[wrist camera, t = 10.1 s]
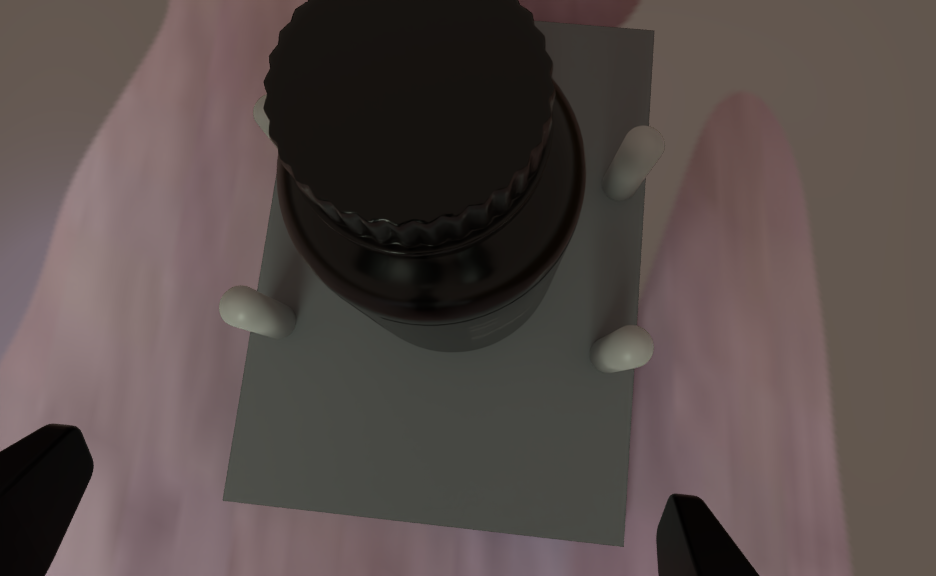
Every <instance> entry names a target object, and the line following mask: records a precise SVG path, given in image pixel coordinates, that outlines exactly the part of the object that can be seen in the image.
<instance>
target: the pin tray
mask: <svg viewBox="0 0 936 576" xmlns="http://www.w3.org/2000/svg"><path fill="white" fill-rule="evenodd" d="M305 3H306V2H305ZM534 25H535V27H537V28H538V29H539V30H540V31H541V32H542V34H543V35H544V36H545V39H546V52H547V53H548V55H549V56H550V58H551V60H552V61H553V74H552V78H553V79H554V81H555V82H556V83H557V84H558V86H559V87H560V88H561V90H562V91H563V93H564V95H565V96H566V98H567V99H568V101H569V103H570V105H571V107H572V109H573V111H574V113H575V116H576V118H577V121H578V124H579V127H580V130H581V134H582V138H583V142H584V147H585V154H586V170H587V174H586V188H585V194H584V200H583V205H582V209H581V213H580V216H579V220H578V223H577V225H576V228H575V231H574V233H573V236H572V238H571V240H570V243H569V245H568V247H567V249H566V251H565V254H564V256H563V258H562V260H561V262H560V265H559V267H558V269H557V271H556V273H555V276H554V278H553V280H552V282H551V284H550V287H549V289H548V291H547V293H546V294H545V296H544V298H543V300H542V302H541V303H540V305H539V306H538V308H537V309H536V311H535V312H534V313H533V314H532V316H531V317H530V318H529V319H528V320H527V321H526V322H525V323H524V324H523V325H522V326H521V327H520V328H518V329H517V330H516V331H515V332H513V333H512V334H511V335H509V336H508V337H506V338H504V339H502V340H500V341H499V342H497V343H494V344H492V345H490V346H487V347H484V348H481V349H477V350H472V351H466V352H438V351H433V350H428V349H424V348H421V347H418V346H415V345H413V344H410V343H408V342H406V341H404V340H402V339H401V338H399V337H397V336H396V335H394V334H393V333H391V332H390V331H388V330H387V329H385V328H383V327H382V326H380V325H379V324H378V323H376V322H375V321H373V320H372V319H370V318H369V317H367V316H366V315H365V314H363V313H362V312H360V311H359V310H357V309H356V308H355V307H353V306H352V305H350V304H349V303H347V302H346V301H344V300H343V299H342V298H340V297H339V296H338V295H337V294H335V293H334V292H333V291H332V290H331V289H329V288H328V287H327V286H326V285H325V284H324V283H323V282H322V281H321V280H320V279H319V278H318V277H317V276H316V275H315V274H314V273H313V272H312V270H311V269H310V268H309V267H308V265H307V264H306V263H305V262H304V260H303V259H302V257H301V256H300V254H299V253H298V251H297V250H296V248H295V246H294V244H293V242H292V240H291V238H290V236H289V234H288V231H287V229H286V226H285V223H284V221H283V217H282V213H281V209H280V205H279V199H278V193H277V177H276V180H275V186H274V192H273V199H272V205H271V211H270V217H269V223H268V229H267V235H266V241H265V247H264V253H263V259H262V265H261V271H260V277H259V283H258V289H257V291H256V290H254V289H252V288H250V287H247V286H235V287H232V288H231V289H229V290H228V291H226V292H225V293H224V295H223V296H222V298H221V300H220V304H219V312H220V315H221V317H222V319H223V320H224V321H225V322H226V323H227V324H229V325H231V326H234V327H237V328H241V329H244V330H247V331H251V332H250V338H249V344H248V350H247V356H246V362H245V368H244V374H243V380H242V386H241V392H240V398H239V404H238V410H237V417H236V423H235V429H234V435H233V441H232V447H231V453H230V459H229V465H228V471H227V477H226V483H225V489H224V495H223V501H230V502H239V503H248V504H256V505H265V506H274V507H282V508H291V509H300V510H308V511H317V512H326V513H334V514H343V515H352V516H360V517H369V518H378V519H386V520H395V521H404V522H412V523H421V524H430V525H438V526H447V527H456V528H464V529H473V530H482V531H490V532H499V533H508V534H516V535H525V536H534V537H542V538H551V539H560V540H568V541H577V542H586V543H594V544H603V545H612V546H620V547H624V532H625V515H626V498H627V481H628V464H629V448H630V431H631V414H632V397H633V381H634V368H637V367H641V366H643V365H645V364H646V363H647V362H648V361H649V360H650V358H651V357H652V354H653V350H654V345H653V340H652V338H651V336H650V335H649V333H648V332H647V331H646V330H644V329H643V328H641V327H639V326H637V314H638V297H639V280H640V263H641V246H642V230H643V213H644V196H645V179H646V176H647V175H648V173H649V172H650V171H651V169H652V168H653V167H654V165H655V164H656V163H657V161H658V160H659V158H660V157H661V155H662V154H663V152H664V147H665V143H664V139H663V137H662V135H661V134H660V132H658V131H657V130H656V129H654V128H652V127H649V112H650V96H651V79H652V62H653V45H654V31H651V30H640V29H628V28H616V27H604V26H592V25H579V24H567V23H555V22H543V21H534ZM266 96H267V94H266V95H264V96H262V97H261V98H260V99H259V100H258V101H257V102H256V104H255V106H254V109H253V116H254V119H255V121H256V123H257V124H258V125H259V126H260V128H261V129H262V130H263V131H264V133H265V134H266V135H267V136H268V138H269V139H270V137H269V119H268V118H267V116H266V114H265V112H264V109H263V107H264V103H265V99H266ZM270 140H271V139H270ZM271 141H272V140H271ZM273 144H274V143H273ZM274 145H275V144H274ZM275 146H276V145H275ZM277 149H278V148H277ZM276 176H277V174H276Z"/></svg>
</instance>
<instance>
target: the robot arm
mask: <svg viewBox="0 0 936 576" xmlns="http://www.w3.org/2000/svg"><path fill="white" fill-rule="evenodd" d="M93 467H94V465H93V459H92V456H91V454H90V451H89V449H88V446H87V444H86V442H85V439H84V437H83V434H82V432H81V430H80V429H79V428H77V427H76V426H72V425H63V424H48V425H46V426H44V427H42V428H40V429H38V430H36V431H35V432H33V433H31V434H30V435H28V436H26V437H24V438H23V439H21V440H19V441H18V442H16V443H14V444H13V445H11V446H9V447H7V448H6V449H4V450H2V451H1V452H0V576H45V575H46V573H47V571H48V569H49V567H50V565H51V563H52V561H53V559H54V557H55V555H56V553H57V551H58V548H59V546H60V544H61V542H62V540H63V538H64V535H65V533H66V531H67V529H68V527H69V525H70V522H71V520H72V518H73V516H74V514H75V511H76V509H77V507H78V505H79V503H80V501H81V498H82V496H83V494H84V492H85V490H86V488H87V485H88V483H89V481H90V479H91V476H92V473H93ZM656 543H657V558H658V573H659V576H759V575H758V573H757V572H756V571H755V569H754V568H753V567H752V565H751V564H750V563H749V561H748V560H747V559H746V557H745V556H744V555H743V553H742V552H741V551H740V549H739V548H738V547H737V545H736V544H735V543H734V541H733V540H732V539H731V537H730V536H729V535H728V533H727V532H726V531H725V529H724V528H723V527H722V525H721V524H720V523H719V521H718V520H717V519H716V517H715V516H714V514H713V513H712V512H711V510H710V509H709V508H708V506H707V505H706V504H705V502H704V501H703V500H702V499H701V498H699V497H697V496H693V495H684V494H672V495H671V496H670V497H669V499H668V501H667V504H666V506H665V509H664V512H663V514H662V517H661V520H660V522H659V525H658V528H657V537H656Z"/></svg>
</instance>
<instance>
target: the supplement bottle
mask: <svg viewBox="0 0 936 576" xmlns="http://www.w3.org/2000/svg"><path fill="white" fill-rule="evenodd" d="M269 63H270V70H269V72H268V73H267V75H266V77H265V80H264V86H265V90H266V92H267V96H266V99H265V103H264V107H263V109H264V112H265V114H266V116H267V118H268V119H269V137H270V139H271V140H272V142H273V143H274V144H275V145H276V147H277V148H278V160H277V176H276V177H277V193H278V199H279V205H280V209H281V213H282V217H283V221H284V223H285V226H286V229H287V231H288V234H289V236H290V238H291V240H292V242H293V244H294V246H295V248H296V250H297V251H298V253H299V254H300V256H301V257H302V259H303V260H304V262H305V263H306V264H307V265H308V267H309V268H310V269H311V270H312V272H313V273H314V274H315V275H316V276H317V277H318V278H319V279H320V280H321V281H322V282H323V283H324V284H325V285H326V286H327V287H328V288H329V289H331V290H332V291H333V292H334V293H335V294H337V295H338V296H339V297H340V298H342V299H343V300H344V301H346V302H347V303H349V304H350V305H352V306H353V307H355V308H356V309H357V310H359V311H360V312H362V313H363V314H365V315H366V316H367V317H369V318H370V319H372V320H373V321H375V322H376V323H378V324H379V325H380V326H382V327H383V328H385V329H387V330H388V331H390V332H391V333H393V334H394V335H396V336H397V337H399V338H401V339H402V340H404V341H406V342H408V343H410V344H413V345H415V346H418V347H421V348H424V349H428V350H433V351H438V352H466V351H472V350H477V349H481V348H484V347H487V346H490V345H492V344H494V343H497V342H499V341H500V340H502V339H504V338H506V337H508V336H509V335H511V334H512V333H513V332H515V331H516V330H517V329H518V328H520V327H521V326H522V325H523V324H524V323H525V322H526V321H527V320H528V319H529V318H530V317H531V316H532V314H533V313H534V312H535V311H536V309H537V308H538V306H539V305H540V303H541V302H542V300H543V298H544V296H545V294H546V293H547V291H548V289H549V287H550V284H551V282H552V280H553V278H554V276H555V273H556V271H557V269H558V267H559V265H560V262H561V260H562V258H563V256H564V254H565V251H566V249H567V247H568V245H569V243H570V240H571V238H572V236H573V233H574V231H575V228H576V225H577V223H578V220H579V216H580V213H581V209H582V205H583V200H584V194H585V188H586V174H587V170H586V154H585V147H584V142H583V138H582V134H581V130H580V127H579V124H578V121H577V118H576V116H575V113H574V111H573V109H572V107H571V105H570V103H569V101H568V99H567V98H566V96H565V95H564V93H563V91H562V90H561V88H560V87H559V86H558V84H557V83H556V82H555V81H554V79H553V78H552V74H553V61H552V60H551V58H550V56H549V55H548V53H547V52H546V39H545V36H544V35H543V34H542V32H541V31H540V30H539V29H538V28H537V27H535V25H534V19H533V15H532V13H531V12H530V11H528V10H527V9H526V8H524V7H522V6H521V5H520V4H519V1H518V0H308V2H306V3H304V4H303V5H301V6H299V7H298V8H296V9H295V11H294V13H293V16H292V19H291V22H290V23H288V24H287V25H286V26H285V27H284V28H283V29H282V30H281V31H280V33H279V41H278V45H277V46H276V47H275V49H274V50H273V51H272V53H271V54H270V55H269Z"/></svg>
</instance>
